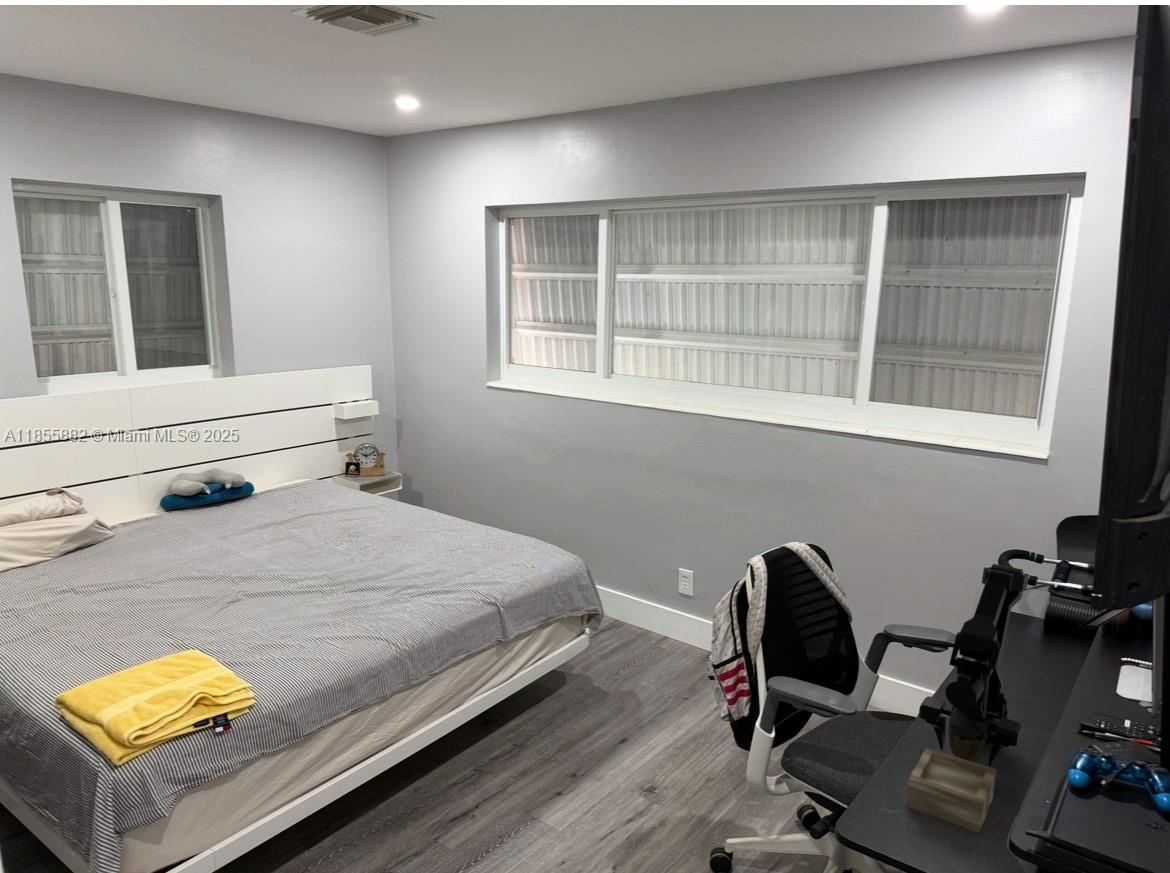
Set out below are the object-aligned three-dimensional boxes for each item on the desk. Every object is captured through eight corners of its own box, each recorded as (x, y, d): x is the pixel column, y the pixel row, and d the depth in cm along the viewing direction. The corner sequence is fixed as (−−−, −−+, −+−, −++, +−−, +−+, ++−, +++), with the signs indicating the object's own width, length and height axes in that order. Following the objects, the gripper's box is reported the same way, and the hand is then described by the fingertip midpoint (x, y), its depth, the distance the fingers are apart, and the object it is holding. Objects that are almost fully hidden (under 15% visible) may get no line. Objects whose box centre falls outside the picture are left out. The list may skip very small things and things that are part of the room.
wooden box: (924, 773, 167) (926, 747, 166) (993, 797, 160) (996, 769, 158) (906, 806, 157) (908, 778, 156) (979, 833, 149) (982, 804, 148)
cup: (989, 763, 171) (993, 729, 169) (977, 779, 165) (981, 743, 164) (953, 749, 176) (956, 715, 174) (940, 764, 170) (943, 729, 169)
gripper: (914, 691, 166) (908, 759, 169) (1015, 720, 155) (1007, 792, 158) (928, 670, 175) (923, 735, 178) (1025, 696, 164) (1017, 765, 167)
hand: (965, 756), depth 170 cm, fingers open, 9 cm apart
